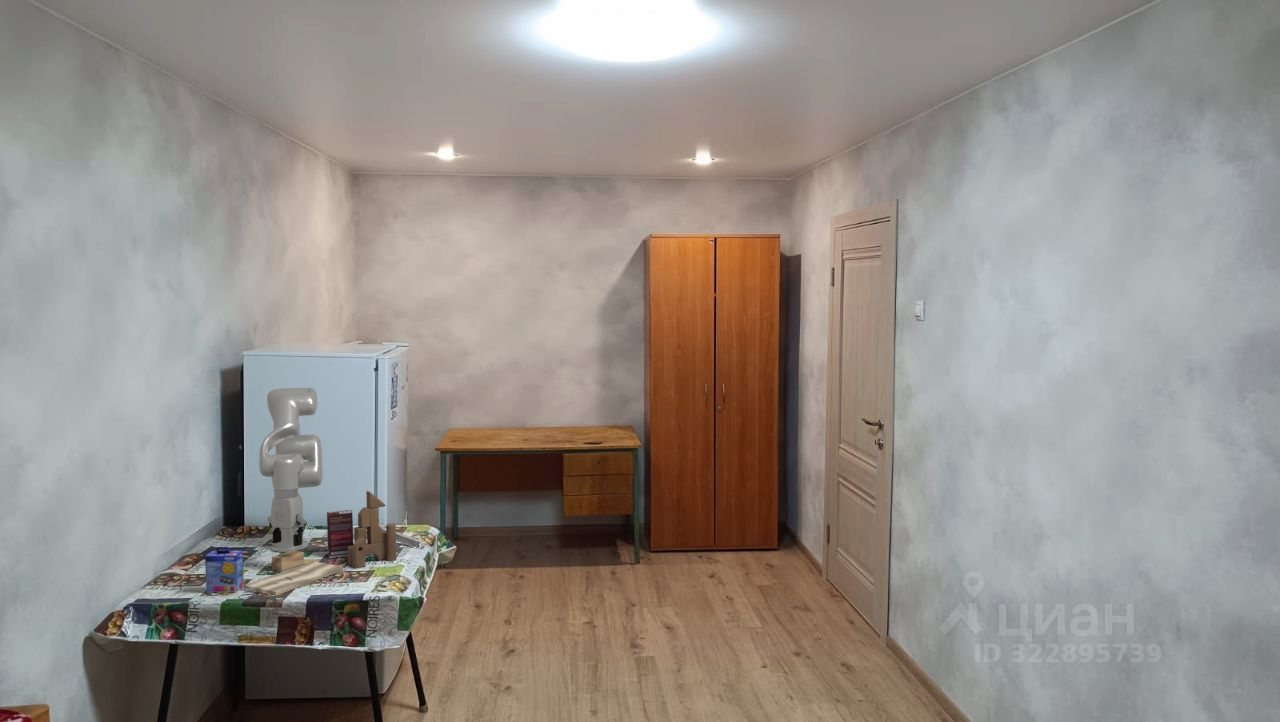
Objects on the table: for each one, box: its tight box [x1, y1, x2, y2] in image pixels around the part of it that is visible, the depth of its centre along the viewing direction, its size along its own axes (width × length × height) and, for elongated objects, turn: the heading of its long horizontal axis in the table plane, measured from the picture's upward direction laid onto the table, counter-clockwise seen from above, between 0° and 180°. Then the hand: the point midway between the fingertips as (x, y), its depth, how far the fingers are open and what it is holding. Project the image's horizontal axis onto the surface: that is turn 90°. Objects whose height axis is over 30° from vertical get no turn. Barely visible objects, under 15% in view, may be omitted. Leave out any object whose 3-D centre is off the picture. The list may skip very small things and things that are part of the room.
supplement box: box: [326, 509, 354, 559], centre depth 310 cm, size 9×5×16 cm, turn 113°
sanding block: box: [271, 550, 305, 573], centre depth 296 cm, size 5×9×5 cm, turn 151°
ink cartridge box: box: [204, 546, 245, 594], centre depth 273 cm, size 10×6×14 cm, turn 95°
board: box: [243, 560, 344, 597], centre depth 284 cm, size 14×28×2 cm, turn 154°
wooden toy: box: [347, 490, 397, 569], centre depth 302 cm, size 15×7×25 cm, turn 132°
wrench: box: [379, 522, 426, 550], centre depth 327 cm, size 8×2×30 cm
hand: (287, 543), depth 295 cm, fingers open, 9 cm apart
